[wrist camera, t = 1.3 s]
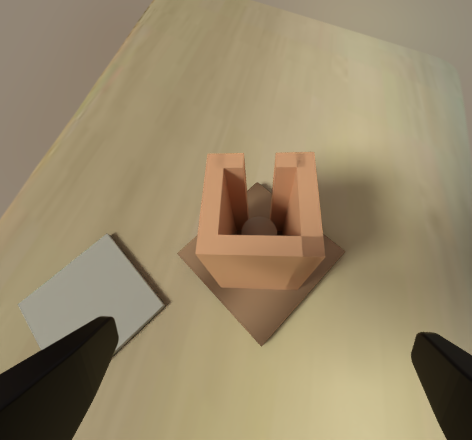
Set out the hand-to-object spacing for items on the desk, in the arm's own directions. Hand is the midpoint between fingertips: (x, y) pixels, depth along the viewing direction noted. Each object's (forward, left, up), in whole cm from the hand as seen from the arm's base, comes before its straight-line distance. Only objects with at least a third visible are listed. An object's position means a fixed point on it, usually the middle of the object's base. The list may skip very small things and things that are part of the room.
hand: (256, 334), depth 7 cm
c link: (+4, -5, -12) cm, 14 cm away
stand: (+4, -5, -13) cm, 14 cm away
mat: (+11, +8, -13) cm, 19 cm away
